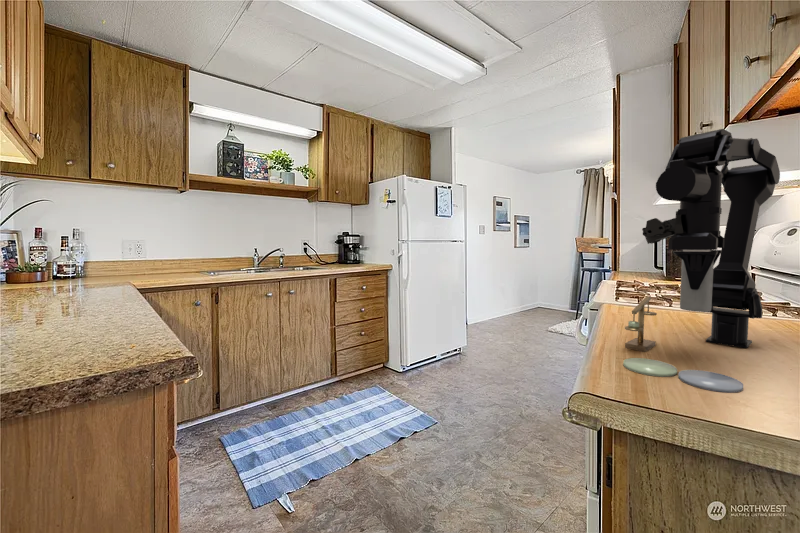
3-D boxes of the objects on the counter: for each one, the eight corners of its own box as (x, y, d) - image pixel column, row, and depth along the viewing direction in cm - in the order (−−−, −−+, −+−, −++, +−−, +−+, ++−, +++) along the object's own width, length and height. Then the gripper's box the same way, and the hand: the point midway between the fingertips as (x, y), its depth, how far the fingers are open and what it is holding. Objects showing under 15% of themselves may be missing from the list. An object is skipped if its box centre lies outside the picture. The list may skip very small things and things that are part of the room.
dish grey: (685, 370, 61) (685, 366, 61) (747, 383, 55) (747, 379, 55) (672, 381, 56) (672, 377, 56) (737, 397, 50) (738, 393, 50)
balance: (639, 340, 79) (641, 294, 78) (659, 343, 76) (661, 296, 76) (620, 350, 72) (621, 300, 72) (640, 354, 69) (642, 302, 69)
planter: (718, 312, 64) (720, 254, 64) (690, 312, 65) (693, 255, 64) (699, 307, 69) (701, 254, 68) (674, 307, 69) (676, 254, 68)
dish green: (632, 358, 67) (632, 355, 67) (682, 369, 61) (683, 365, 61) (616, 367, 62) (616, 364, 62) (668, 380, 57) (669, 376, 56)
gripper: (656, 209, 78) (654, 281, 79) (635, 203, 65) (632, 289, 66) (726, 205, 70) (722, 284, 71) (717, 197, 57) (713, 295, 58)
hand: (696, 288), depth 66 cm, fingers closed on planter, 4 cm apart
